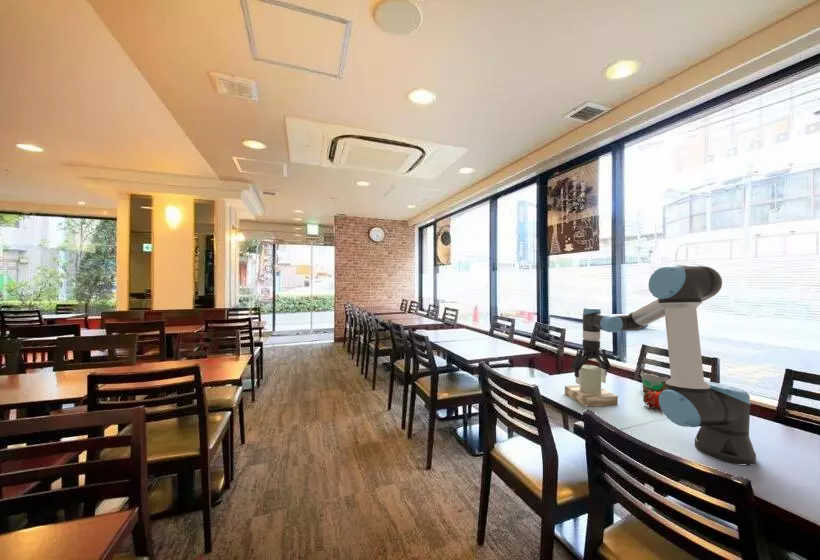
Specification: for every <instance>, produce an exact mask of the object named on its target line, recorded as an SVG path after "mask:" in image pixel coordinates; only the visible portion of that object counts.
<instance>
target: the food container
mask: <svg viewBox="0 0 820 560" xmlns="http://www.w3.org/2000/svg"><path fill="white" fill-rule="evenodd" d="M640 377H641V380H642V381H641V383H642V391H643V393H645V392H648V391H651V392H652V391H656V392H663V391H665V390H667V389H666V381H668V380H669V377H668V376H661V375H660V376H659V375H658V374H657V375H656V374H653V373H647V372H644V370H642V371H641V372H640Z"/></svg>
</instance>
